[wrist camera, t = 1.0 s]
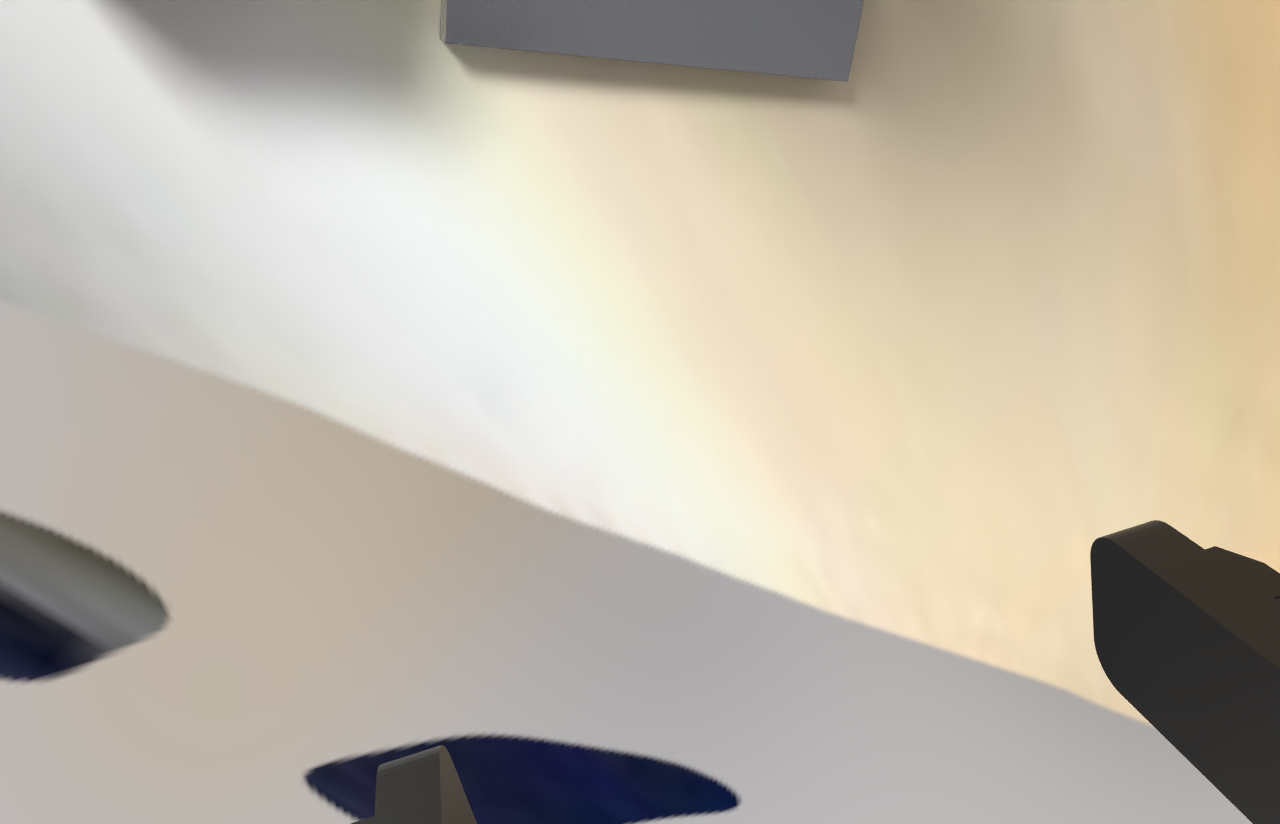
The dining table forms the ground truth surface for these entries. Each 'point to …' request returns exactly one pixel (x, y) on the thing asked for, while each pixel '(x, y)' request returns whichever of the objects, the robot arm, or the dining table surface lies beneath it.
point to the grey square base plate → (670, 31)
